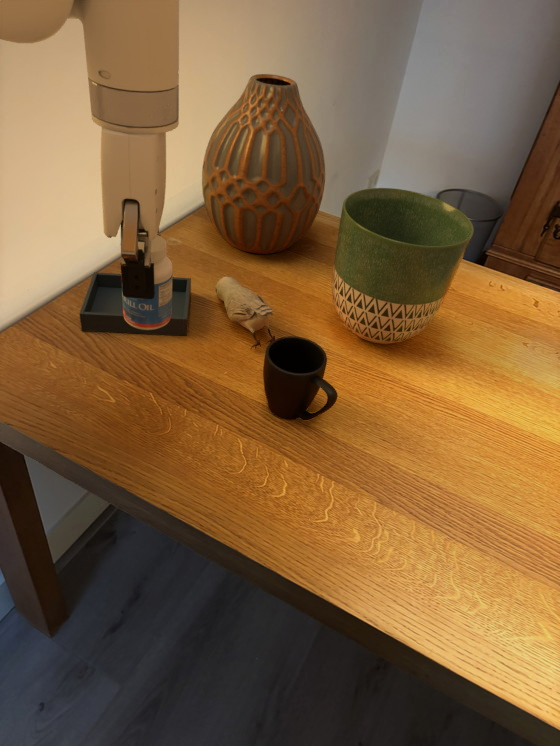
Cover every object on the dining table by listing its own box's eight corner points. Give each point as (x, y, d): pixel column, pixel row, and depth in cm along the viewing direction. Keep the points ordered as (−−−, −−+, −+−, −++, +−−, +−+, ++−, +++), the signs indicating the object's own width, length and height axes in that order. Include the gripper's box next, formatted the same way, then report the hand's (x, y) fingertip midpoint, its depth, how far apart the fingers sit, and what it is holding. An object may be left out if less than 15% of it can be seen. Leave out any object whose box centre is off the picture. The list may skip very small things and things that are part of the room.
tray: (81, 331, 85) (79, 313, 83) (95, 288, 94) (93, 272, 92) (186, 336, 87) (187, 319, 85) (190, 294, 96) (190, 278, 94)
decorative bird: (232, 296, 97) (235, 258, 92) (281, 347, 88) (286, 308, 83) (205, 302, 95) (207, 264, 90) (252, 355, 85) (256, 316, 80)
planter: (386, 292, 105) (417, 183, 91) (453, 352, 92) (502, 237, 78) (298, 310, 96) (318, 193, 83) (359, 378, 84) (395, 255, 70)
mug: (297, 454, 71) (308, 401, 65) (247, 398, 78) (253, 345, 72) (344, 431, 75) (359, 380, 69) (293, 380, 82) (302, 329, 76)
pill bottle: (113, 321, 61) (107, 243, 55) (140, 298, 65) (137, 223, 59) (155, 337, 60) (154, 260, 54) (180, 313, 64) (182, 238, 58)
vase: (325, 229, 122) (353, 80, 102) (295, 279, 104) (322, 109, 84) (226, 204, 126) (235, 55, 106) (180, 248, 108) (181, 78, 88)
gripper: (108, 74, 54) (120, 241, 65) (67, 129, 41) (91, 325, 52) (185, 83, 55) (183, 246, 66) (169, 140, 42) (170, 330, 53)
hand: (142, 279), depth 59 cm, fingers closed on pill bottle, 5 cm apart
